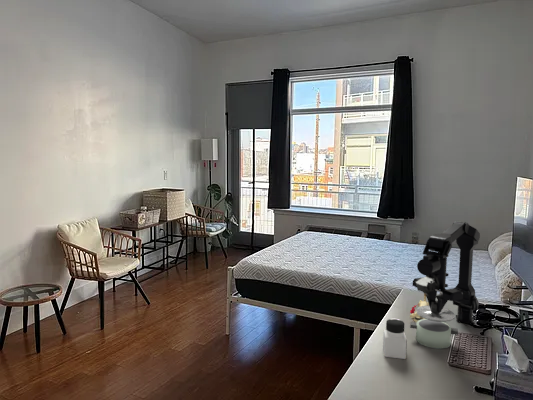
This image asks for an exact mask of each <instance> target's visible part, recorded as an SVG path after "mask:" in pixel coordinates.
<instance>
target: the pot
mask: <svg viewBox="0 0 533 400" xmlns="http://www.w3.org/2000/svg"><path fill="white" fill-rule="evenodd" d="M409 328H410V329H416V331H415V339H416V342H417V343H419V345H422V346H425V347H427V348H430V349H436V350H437V349H439V350H440V349H441V350H442V349H447V348H449V347H450V346H451V341H452V339H451V338H452V335H456V336H458V335H459V331H458V328H457V327H452V326H450V325H449V324H448V322H437V321H431V320H428V319H422V320H419V321H417V323H416V322H415V321H410V325H409Z"/></svg>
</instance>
